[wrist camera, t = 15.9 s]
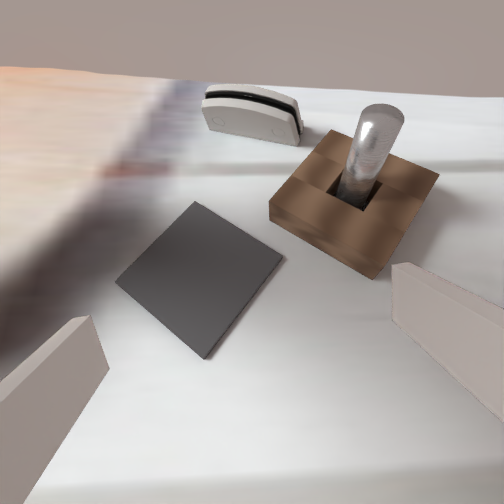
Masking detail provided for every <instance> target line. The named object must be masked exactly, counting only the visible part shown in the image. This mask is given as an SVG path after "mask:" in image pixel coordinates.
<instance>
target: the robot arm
mask: <svg viewBox="0 0 504 504" xmlns="http://www.w3.org/2000/svg"><path fill="white" fill-rule="evenodd" d="M392 321H393V322H394V323H395V324H396V325H398V326H399V327H400V328H401V329H402V330H403V331H404V332H405V333H406V334H407V335H408V336H409V337H411V338H412V339H413V340H414V341H415V342H416V343H417V344H418V345H419V346H420V347H421V348H423V349H424V350H425V351H426V352H427V353H428V354H429V355H430V356H431V357H432V358H433V359H434V360H436V361H437V362H438V363H439V364H440V365H441V366H442V367H443V368H444V369H445V370H446V371H448V372H449V373H450V374H451V375H452V376H453V377H454V378H455V379H456V380H457V381H458V382H459V383H461V384H462V385H463V386H464V387H465V388H466V389H467V390H468V391H469V392H470V393H471V394H472V395H474V396H475V397H476V398H477V399H478V400H479V401H480V402H481V403H482V404H483V405H484V406H486V407H487V408H488V409H489V410H490V411H491V412H492V413H493V414H494V415H495V416H496V417H497V418H499V419H500V420H501V421H502V422H503V423H504V309H502V308H500V307H498V306H496V305H494V304H492V303H490V302H488V301H486V300H484V299H482V298H480V297H478V296H476V295H474V294H472V293H470V292H468V291H466V290H464V289H462V288H460V287H458V286H456V285H454V284H452V283H450V282H448V281H446V280H444V279H442V278H440V277H438V276H436V275H434V274H432V273H430V272H428V271H426V270H424V269H422V268H420V267H418V266H416V265H414V264H412V263H410V262H405V263H399V264H393V265H392ZM108 370H109V366H108V363H107V360H106V358H105V355H104V352H103V349H102V346H101V343H100V341H99V338H98V335H97V332H96V329H95V327H94V324H93V321H92V318H91V315H88V316H82V317H76V318H72V319H71V320H70V321H69V322H67V323H66V324H65V325H64V326H63V327H62V328H61V329H60V330H58V331H57V332H56V333H55V334H54V335H53V336H52V337H50V338H49V339H48V340H47V341H46V342H45V343H44V344H43V345H41V346H40V347H39V348H38V349H37V350H36V351H35V352H34V353H32V354H31V355H30V356H29V357H28V358H27V359H26V360H25V361H23V362H22V363H21V364H20V365H19V366H18V367H17V368H15V369H14V370H13V371H12V372H11V373H10V374H9V375H8V376H6V377H5V378H4V379H3V380H2V381H1V382H0V504H23V503H24V501H25V500H26V498H27V497H28V495H29V493H30V492H31V490H32V489H33V487H34V486H35V484H36V483H37V481H38V479H39V478H40V476H41V475H42V473H43V472H44V470H45V469H46V467H47V465H48V464H49V462H50V461H51V459H52V458H53V456H54V455H55V453H56V451H57V450H58V448H59V447H60V445H61V444H62V442H63V441H64V439H65V437H66V436H67V434H68V433H69V431H70V430H71V428H72V427H73V425H74V423H75V422H76V420H77V419H78V417H79V416H80V414H81V413H82V411H83V409H84V408H85V406H86V405H87V403H88V402H89V400H90V398H91V397H92V395H93V394H94V392H95V391H96V389H97V388H98V386H99V384H100V383H101V381H102V380H103V378H104V377H105V375H106V374H107V372H108Z"/></svg>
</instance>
